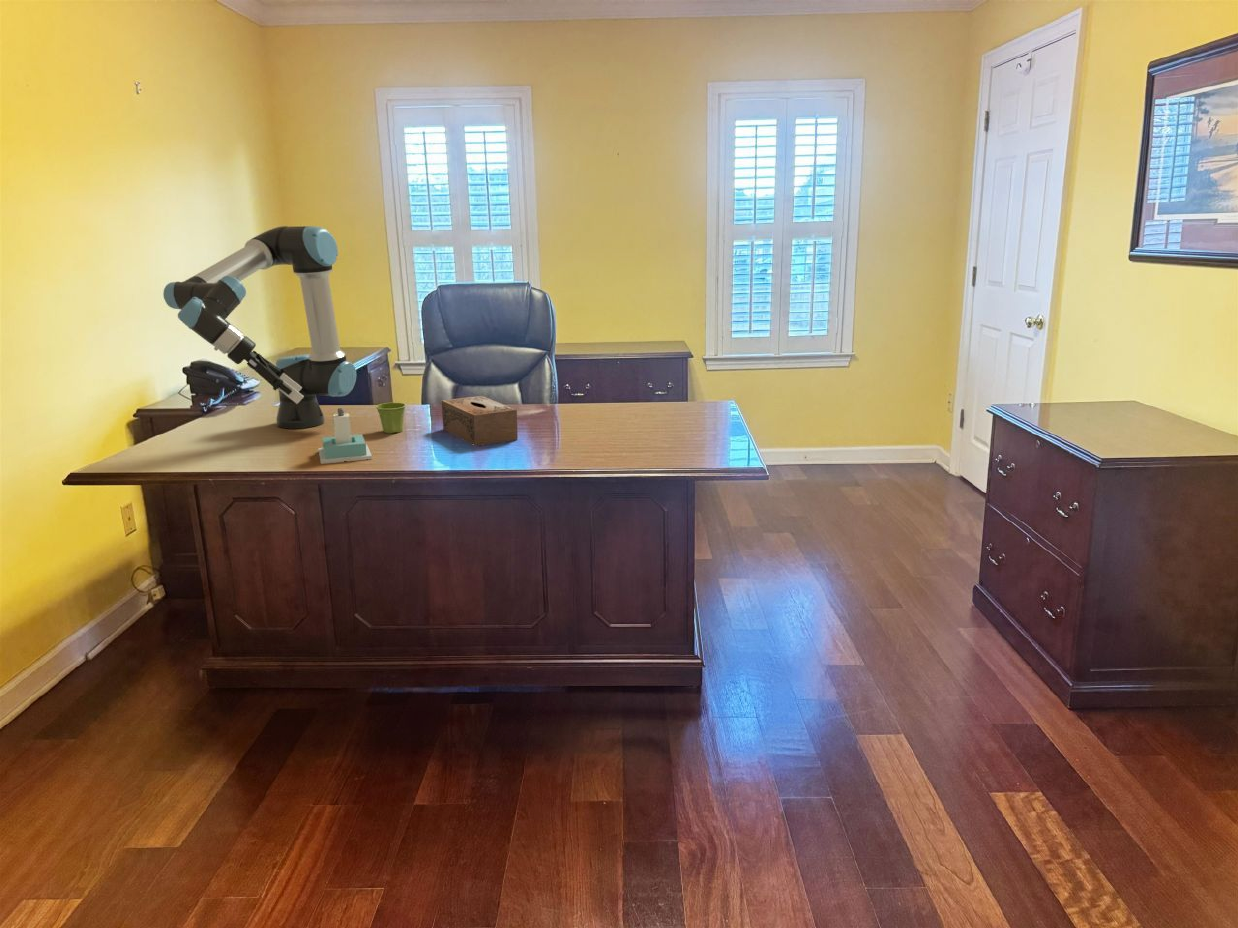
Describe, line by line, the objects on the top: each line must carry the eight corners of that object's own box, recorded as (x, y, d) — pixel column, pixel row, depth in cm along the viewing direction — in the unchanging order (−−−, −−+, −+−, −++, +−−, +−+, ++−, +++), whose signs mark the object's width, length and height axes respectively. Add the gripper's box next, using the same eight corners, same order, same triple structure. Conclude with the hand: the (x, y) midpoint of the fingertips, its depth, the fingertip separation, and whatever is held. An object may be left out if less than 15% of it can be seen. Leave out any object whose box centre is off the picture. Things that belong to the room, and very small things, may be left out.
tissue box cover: (517, 440, 262) (516, 409, 259) (475, 447, 254) (474, 415, 251) (483, 424, 282) (481, 395, 279) (443, 430, 274) (441, 400, 272)
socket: (320, 463, 234) (319, 448, 233) (318, 451, 247) (317, 437, 246) (372, 459, 240) (370, 444, 238) (367, 447, 252) (365, 432, 251)
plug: (337, 454, 240) (332, 410, 237) (336, 450, 244) (332, 407, 241) (352, 453, 242) (348, 409, 238) (351, 449, 246) (347, 406, 242)
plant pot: (399, 435, 266) (397, 409, 264) (372, 434, 268) (370, 407, 265) (412, 428, 275) (410, 403, 272) (386, 427, 277) (384, 402, 274)
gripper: (227, 349, 235) (289, 397, 245) (223, 362, 213) (291, 414, 223) (245, 329, 236) (307, 378, 245) (243, 340, 214) (310, 393, 223)
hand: (299, 395), depth 234 cm, fingers open, 13 cm apart
